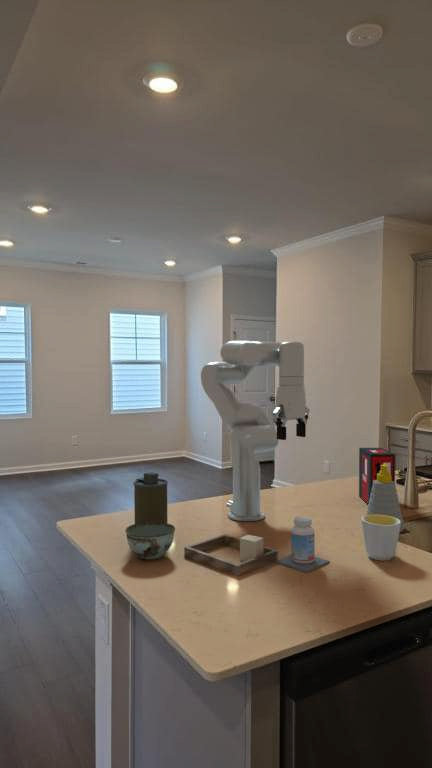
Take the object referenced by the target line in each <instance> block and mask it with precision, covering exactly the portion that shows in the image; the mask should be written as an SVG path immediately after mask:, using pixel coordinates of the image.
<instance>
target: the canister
mask: <svg viewBox="0 0 432 768" xmlns="http://www.w3.org/2000/svg"><path fill="white" fill-rule="evenodd" d="M159 476H160V474H159V473H156V472H154V471H150V472H145V473H143V477H141V478H140V477H139V478H136V480H135V481H134V482H133V483H132V484H133V486H134V488H133V489H134V494H133V495H134V502H133V503H134V524H137V523H144V522H163V523H168V484H169V481H168V480H167V479H163V478H159Z"/></svg>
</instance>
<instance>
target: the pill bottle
mask: <svg viewBox="0 0 432 768" xmlns="http://www.w3.org/2000/svg"><path fill="white" fill-rule="evenodd" d="M312 523H313V522H312V518H311V517H309V516H302V515H300V516H295V517H294V518H293V524H294V525H293V526H292V528H291V532H290V533H291V535H290V536H291V537H290V541H291V542H290V547H291V548H290V549H291V550H290V551H291V552H290V553H291V554H290V555H291V559H292V560H293V561H294V562H296V563H301V564H309V563H312V562H313V561H314V556H315V550H316V549H315V530H314V529H315V528H314V527H312Z"/></svg>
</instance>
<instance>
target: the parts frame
mask: <svg viewBox="0 0 432 768" xmlns="http://www.w3.org/2000/svg"><path fill="white" fill-rule="evenodd" d="M224 545H226V546H228V547H232V548H235V549H238V550H240V538H238V537H235V536H232V535H228V534H222V535H218V536H215V537H212V538H210V539H206V540H203V541H200V542H197V543H193V544H190V545H188V546H184V547H183V550H184V557H186V558H189V559H191V560H193V561H196V562H199V563H202V564H203V565H204V564H205V565H207V566H209V567H212V568H215V569H217V570H220V571H223V572H226V573H228V574H230V575H233V576H236V577H239V576H241V575H243V574H246V573H249V572H251V571H253V570H255V569H259V568H261V567H264V566H267V565H268V564H271V563H273V562H276V561H277V560H279V550H277V549H274V548H270V547H268V546H264V554H263V555H260V556H257V557H255V558H252V559H249V560H247V561H242V562H239V563H235V562H232V561H229V560H227V559H224V558H221V557H218V556H216V555H213V554H210V553H207V552H206V551H209V550H212V549H215V548H218V547H221V546H224Z"/></svg>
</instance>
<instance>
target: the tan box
mask: <svg viewBox="0 0 432 768" xmlns="http://www.w3.org/2000/svg"><path fill="white" fill-rule="evenodd" d="M239 539H240V549H239V561H242V562H244V561H247V560H249V559H252V558H255V557H257V556H260V555H263V554H264V547H265V546H264V537H261V536H256V535H251V534H246V535H244V536H242V537H240V538H239Z"/></svg>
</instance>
